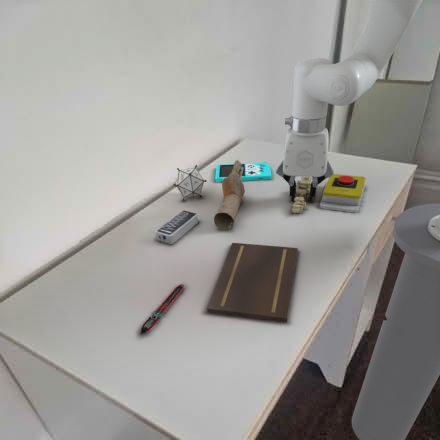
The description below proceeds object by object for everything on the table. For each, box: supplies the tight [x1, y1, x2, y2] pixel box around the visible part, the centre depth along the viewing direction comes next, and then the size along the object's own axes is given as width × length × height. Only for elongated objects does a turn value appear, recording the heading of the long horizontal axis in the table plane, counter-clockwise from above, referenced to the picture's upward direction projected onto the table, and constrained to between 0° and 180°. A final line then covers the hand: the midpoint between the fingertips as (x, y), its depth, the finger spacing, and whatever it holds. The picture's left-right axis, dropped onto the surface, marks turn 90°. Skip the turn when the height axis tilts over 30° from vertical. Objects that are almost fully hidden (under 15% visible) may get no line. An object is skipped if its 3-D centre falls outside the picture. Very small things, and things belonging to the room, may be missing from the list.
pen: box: [140, 283, 185, 335], centre depth 67 cm, size 2×14×1 cm, turn 154°
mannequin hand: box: [213, 159, 246, 231], centre depth 93 cm, size 7×7×25 cm
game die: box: [172, 164, 208, 202], centre depth 97 cm, size 9×8×10 cm
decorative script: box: [291, 176, 312, 214], centre depth 94 cm, size 17×4×3 cm, turn 166°
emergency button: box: [319, 173, 366, 214], centre depth 93 cm, size 9×4×15 cm
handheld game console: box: [214, 161, 272, 183], centre depth 108 cm, size 10×16×1 cm, turn 89°
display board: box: [206, 242, 299, 323], centre depth 71 cm, size 14×21×1 cm, turn 166°
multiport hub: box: [155, 209, 199, 245], centre depth 86 cm, size 4×11×2 cm, turn 148°
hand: (302, 198), depth 95 cm, fingers closed on decorative script, 3 cm apart
